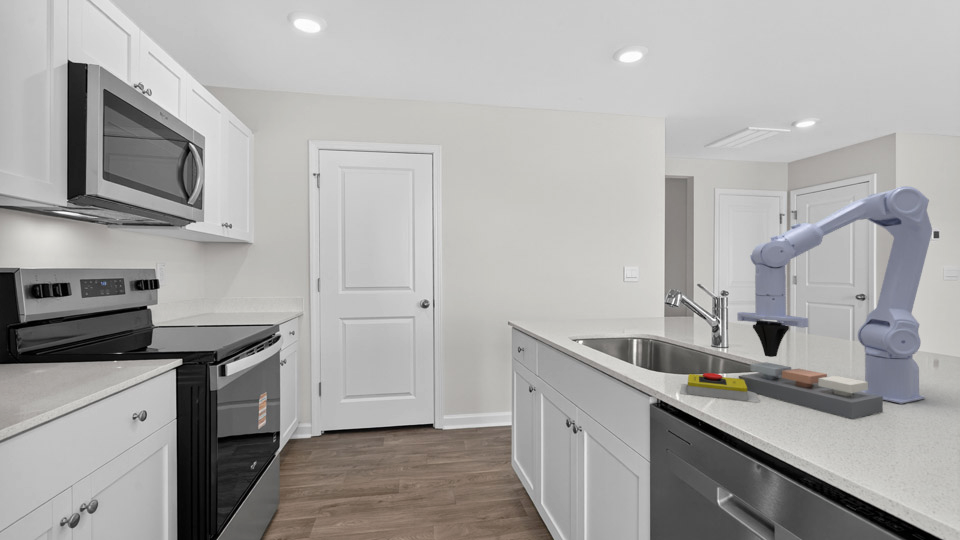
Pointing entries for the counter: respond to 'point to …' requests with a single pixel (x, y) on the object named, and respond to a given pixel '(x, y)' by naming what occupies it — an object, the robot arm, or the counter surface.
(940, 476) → the counter surface
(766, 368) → the slate key
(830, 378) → the ivory key
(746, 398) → the emergency button
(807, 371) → the terracotta key
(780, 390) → the key console
